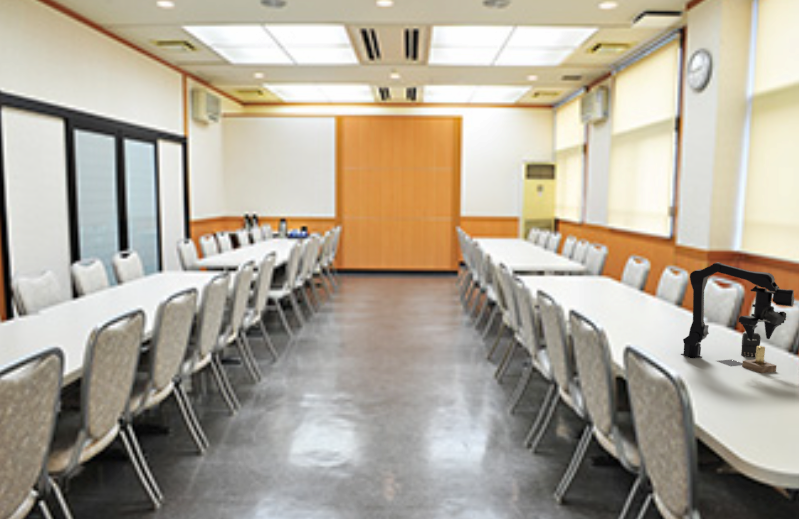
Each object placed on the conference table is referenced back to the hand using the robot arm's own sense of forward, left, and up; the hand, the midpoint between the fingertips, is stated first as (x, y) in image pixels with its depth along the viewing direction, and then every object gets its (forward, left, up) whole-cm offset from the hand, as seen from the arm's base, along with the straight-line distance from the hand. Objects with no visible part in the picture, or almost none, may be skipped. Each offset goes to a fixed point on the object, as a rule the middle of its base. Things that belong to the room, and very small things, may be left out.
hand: (759, 339), depth 238 cm
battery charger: (+13, +15, -13) cm, 24 cm away
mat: (-4, +9, -13) cm, 16 cm away
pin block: (0, -1, -13) cm, 13 cm away
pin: (0, -1, -13) cm, 13 cm away
